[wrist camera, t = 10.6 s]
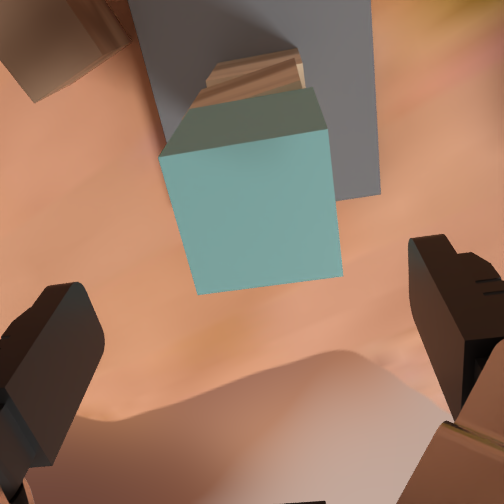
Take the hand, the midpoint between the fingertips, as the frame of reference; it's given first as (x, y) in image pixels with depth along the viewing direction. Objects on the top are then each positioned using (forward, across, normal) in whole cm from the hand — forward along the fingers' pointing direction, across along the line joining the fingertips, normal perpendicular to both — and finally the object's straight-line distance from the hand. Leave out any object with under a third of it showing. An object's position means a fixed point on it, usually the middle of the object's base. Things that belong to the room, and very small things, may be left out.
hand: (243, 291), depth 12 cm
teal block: (+10, 0, 0) cm, 10 cm away
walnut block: (+23, +11, -6) cm, 26 cm away
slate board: (+23, 0, 0) cm, 23 cm away
